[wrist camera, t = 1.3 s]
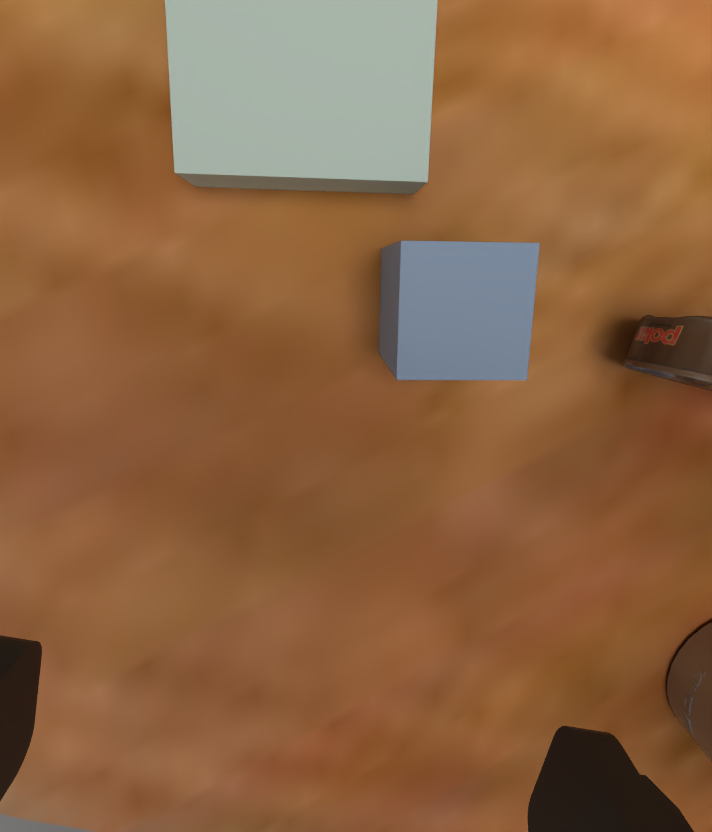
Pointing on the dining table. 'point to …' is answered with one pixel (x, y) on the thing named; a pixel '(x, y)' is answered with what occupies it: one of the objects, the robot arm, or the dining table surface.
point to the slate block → (457, 309)
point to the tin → (674, 349)
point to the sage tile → (302, 93)
